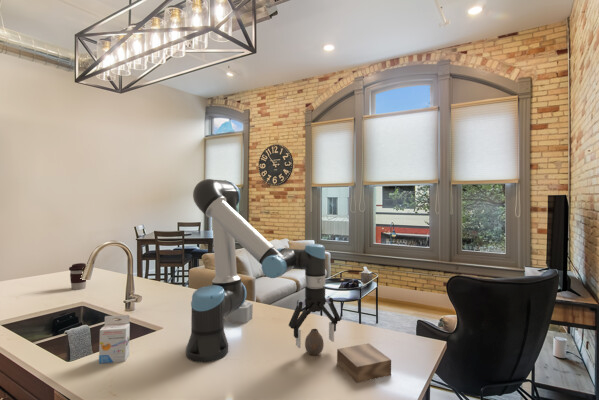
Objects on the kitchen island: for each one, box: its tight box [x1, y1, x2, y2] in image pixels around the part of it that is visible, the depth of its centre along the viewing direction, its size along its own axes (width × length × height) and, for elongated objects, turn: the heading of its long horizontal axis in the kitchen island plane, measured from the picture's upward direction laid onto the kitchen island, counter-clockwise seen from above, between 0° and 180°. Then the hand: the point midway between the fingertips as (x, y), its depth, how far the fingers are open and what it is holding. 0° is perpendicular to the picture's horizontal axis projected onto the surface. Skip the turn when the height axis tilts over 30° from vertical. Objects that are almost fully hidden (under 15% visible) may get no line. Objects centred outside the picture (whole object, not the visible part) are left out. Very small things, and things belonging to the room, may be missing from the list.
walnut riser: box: [336, 343, 392, 384], centre depth 110 cm, size 13×13×5 cm
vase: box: [304, 328, 324, 357], centre depth 121 cm, size 7×7×9 cm
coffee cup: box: [68, 262, 87, 291], centre depth 201 cm, size 10×10×15 cm
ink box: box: [98, 314, 131, 364], centre depth 114 cm, size 8×5×15 cm, turn 103°
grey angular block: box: [224, 300, 254, 325], centre depth 155 cm, size 10×13×9 cm
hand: (315, 343), depth 121 cm, fingers open, 13 cm apart
